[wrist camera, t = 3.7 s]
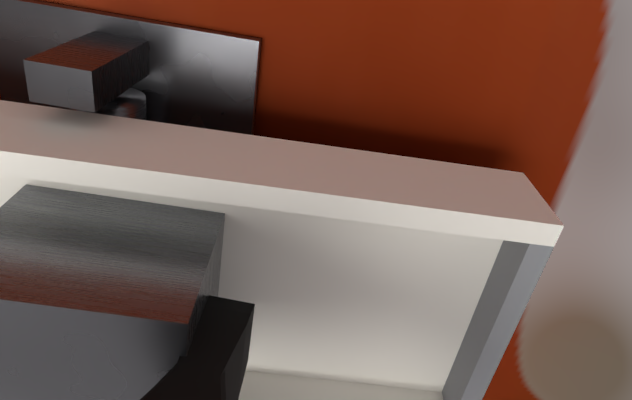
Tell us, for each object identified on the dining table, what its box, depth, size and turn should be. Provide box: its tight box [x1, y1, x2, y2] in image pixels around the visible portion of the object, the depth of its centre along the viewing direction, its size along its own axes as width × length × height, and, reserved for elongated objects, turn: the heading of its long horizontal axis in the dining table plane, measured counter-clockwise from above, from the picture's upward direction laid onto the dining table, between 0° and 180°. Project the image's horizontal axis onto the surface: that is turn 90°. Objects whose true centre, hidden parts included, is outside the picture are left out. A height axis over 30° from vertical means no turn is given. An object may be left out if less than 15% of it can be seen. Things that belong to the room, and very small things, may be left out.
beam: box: [0, 100, 564, 400], centre depth 14 cm, size 28×8×3 cm, turn 82°
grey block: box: [0, 184, 225, 400], centre depth 12 cm, size 5×5×4 cm
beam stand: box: [0, 0, 262, 135], centre depth 16 cm, size 8×12×4 cm, turn 172°
